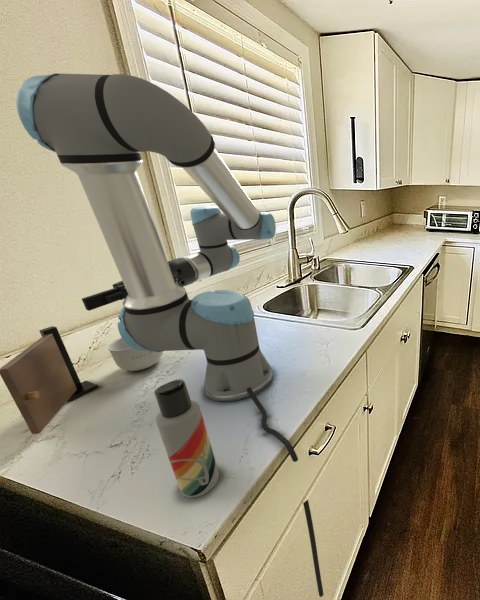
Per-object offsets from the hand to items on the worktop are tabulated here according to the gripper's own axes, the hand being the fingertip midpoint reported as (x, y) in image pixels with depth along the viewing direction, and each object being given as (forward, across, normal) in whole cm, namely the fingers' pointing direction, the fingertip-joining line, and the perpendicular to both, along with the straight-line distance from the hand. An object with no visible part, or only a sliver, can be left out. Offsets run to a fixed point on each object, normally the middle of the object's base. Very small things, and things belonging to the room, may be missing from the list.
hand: (85, 304), depth 70 cm
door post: (+5, +8, -23) cm, 25 cm away
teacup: (-10, +7, -20) cm, 23 cm away
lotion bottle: (+11, -43, -20) cm, 48 cm away
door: (+11, +2, -21) cm, 24 cm away
